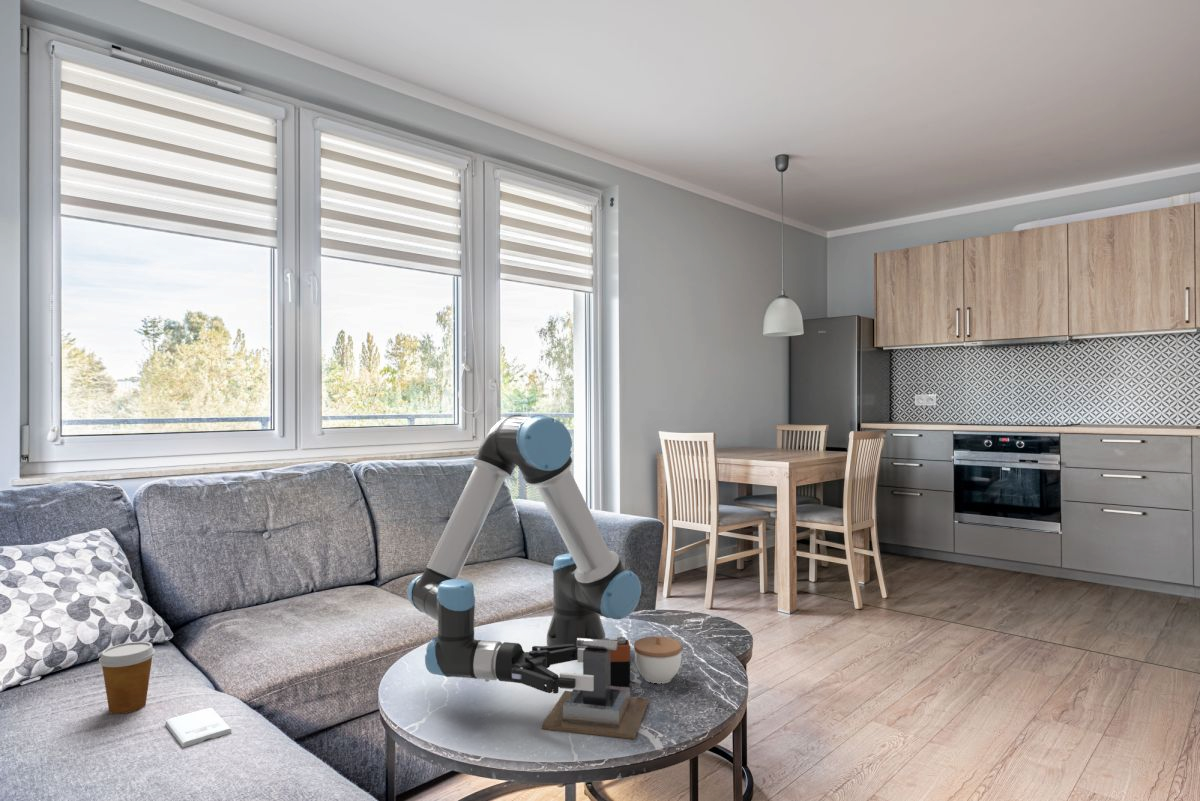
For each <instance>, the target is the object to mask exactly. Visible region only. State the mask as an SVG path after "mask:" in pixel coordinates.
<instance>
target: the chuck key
mask: <svg viewBox="0 0 1200 801" xmlns="http://www.w3.org/2000/svg"><path fill="white" fill-rule="evenodd" d="M613 640H614V639H610V640H601V639H588V638H577V642H576V646H577V647H581V648H585V650H584V651H583V663H582V666H583V667H582V673H583V675H594V690H593V691H584V690H583V704H590V705H600V706H610V705H611V669H610V650H617V646H618V643H617V641H613Z"/></svg>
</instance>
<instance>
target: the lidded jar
mask: <svg viewBox="0 0 1200 801" xmlns="http://www.w3.org/2000/svg"><path fill="white" fill-rule="evenodd" d="M633 648H634V649H633V650H634V661H635V662H634V663H635V665H636V668H637V671H638V672H639V674H640V675H641V676H642V677H643V679H644V681H646V682H647V683H650V682H651V683H650V684H654V683H657V684H656V685H663V684H667V683H668V684H669V683H670V682H672V680H673V678H674V677H675V676H676V675H677V674H678V672H679V670H680V667H681V663H682V662H681V660H682V650H683V645H682V643H681V642H680V641H678V640H677V639H675V638H671V637H666V636H657V635H656V636H647V637H642V638H639V639H637V640H636V641H635V642H634V644H633ZM661 683H662V684H661Z"/></svg>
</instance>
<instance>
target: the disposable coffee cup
mask: <svg viewBox="0 0 1200 801" xmlns="http://www.w3.org/2000/svg"><path fill="white" fill-rule="evenodd" d="M153 647H154V646H153V643H151V642H149V641H132V642H131V641H130V642H125V643H120V644H117V645H113V646H110V647H108V648H106V649H104V650H103V651H102V652H101V656H100V657H99V659H98V662H99V663H100V666H101V668H102V674H103V680H104V687H105V694H106V699H107V707H108V712H109V713H110V714H114V715H120V714H128V713H131V712H135V711H138V710H140V709H142V708H143V707H146V706H145V705H147V698H148V697H147V696H148V691H149V690H148V688H149V683H150V675H151V668H152V661H153V656H154V654H155V653H156V649H155V648H153Z"/></svg>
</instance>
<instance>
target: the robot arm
mask: <svg viewBox="0 0 1200 801" xmlns="http://www.w3.org/2000/svg"><path fill="white" fill-rule="evenodd" d="M572 447H573V442H572V437H571V434H570V431H569V429H568V428H567V427H566V426H565V425H564V423H562V422H561V421H560V420H558V419H556V418H553V417H549V416H547V415H543V414H542V415H540V414H537V415H536V414H535V415H519V414H513V415H508V416H505V417H503V418H501V419H500V420H498V421H497V422H495V424H494V425H493V426H492V427H491V428H490V430H488V432H487V434H486V435H485V437H484V438H483V440H482V441H481V443H480V446H479V447H478V449H477V451H476V453H475V455H474V458H473V459H472V463H473V465H474V466H473V469H472V471H471V474H469V475H470V476H469V478H468V479H467V482H466V484H465V486H464V488H463V490H462V492H461V494H460V496H459V499H458V501H457V503H456V505H455V507H454V508H453V511H452V514H451V515H450V517H449V520H447V523H446V526H445V527H444V529H443V532H442V534H441V536H440V538H439V539H438V542H437V544H436V546H435V548H434V550H433V552H432V554H431V557H430V559H429V561H428V563H427V565H426V567H425V569H424V571H423V573H422V574H421V575H418V576H416V577H415V578H414V579H413V580H411V582H410V583H409V584H408V587H407V593H406V594H407V600H408V601H409V603H410V604H411V605H412V606H413V607H415V609H417V610H418V611H419V612H421V613H423V614H425V615H427V616H429V617H430V618H432V619H434V620H435V621H437V636H435V637H432V639H430V640H429V642H428V644H427V646H426V648H425V649H426V651H425V655H424V663H425V664H424V666H425V667H426V668H425V669H426V670H427V671H428V672H429V674H432V675H437V676H442V677H446V678H465V679H477V680H484V682H489V681H497V680H498V681H500V682H505V683H515V684H522V685H523V686H524V685H525V686H527V687H530V688H533V689H536V690H539V691H541V692H544V693H547V694H554V695H555V694H556V695H557V694H559V689H564V690H572V691H573V690H584V691H593V690H594V675H583V674H582V673H581V674H580V673H570V672H560V673H559V674H558V673H555V672H553V671H552V670H550V669H548V668H550V666H553V665H557V664H563V663H568V662H572V661H577V663H582V664H583V651H584V650H585V648H581V647H577V646H576V642H577V638H588V639H601V640H603V639H604V638H606V632H605V628H604V626H603V622H602V619H601V617H600V616H603V618H604V617H605V618H606V619H611V620H612V619H613V620H623V619H625V618H627V617H629V615H631V614H632V613H633V612H634V610H635V609H636V608H637V606H638V605H639V602H640V597H641V594H642V585H641V584H642V583H641V581H640V578H639V577H638V575H637V574H636V573H634V572H633V571H631V570H627V569H626V568H625V567H624V564H623V561H622V560H621V558H620V556H619V554H618V553H617V552H616V551H614V550H611V549H609V548H608V545H607V544H606V542H605V539H604V537H603V536H602V533H601V531H600V529H599V527H598V526H597V525H598V524H597V523H596V521H595V519H594V517H593V515H592V513H591V511H590V509H589V508H590V507H588V504H587V503H586V500H585V499H584V497H583V494H582V492H581V490H580V488H579V486H578V484H577V482H576V480H575V478H574V476H573V473H572V471H571V466H572V464H573V458H572V450H571V448H572ZM517 467H518V469H519V471H520V474H521V475H522V477H523V479H524V481H525V482H526V484H528V485H530V486H534V487H536V489H537V490H538V493H539V495H540V497H541V499H542V501H543V504H544V505H545V507H546V509H547V511H548V512H549V513H548V514H549V515H550V517H551V519H552V522H553V523H554V524H555V526H556V529H557V531H558V532H559V535H560V537H561V538H562V540H563V542H564V545H565V546H566V548H567V550H568V553H564V554H559V555H557V556H556V557H555V558H554V560H553V567H552V574H553V575H552V576H553V577H552V578H553V598H552V599H553V612H552V617H551V621H550V623H549V626H548V627H549V628H548V630H547V634H546V645H544V646H543V645H542V646H540V645H533V646H532V647H531V650H530V651H524V649H523V647H522V646H523V645H522V644H520V643H519V642H508V641H504V642H501V641H497V640H481V639H475V605H476V597H475V586H474V583H473V582H472V581H470V580H468V579H463V578H459V576H460V575H461V572H462V570H463V568H464V566H465V564H466V562H467V559H468V557H469V555H470V553H471V551H472V549H473V547H474V544H475V542H476V540H477V538H478V536H479V534H480V532H481V530H482V528H483V526H484V523H485V521H486V519H487V517H488V514H489V513H490V511H491V508H492V506H493V505H494V503H495V500H496V497H497V495H498V494H499V491H500V489H501V488H502V485H503V483H504V481H505V480H507V479H510V478H511V476H512V474H513V472H514V470H515V468H517Z"/></svg>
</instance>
